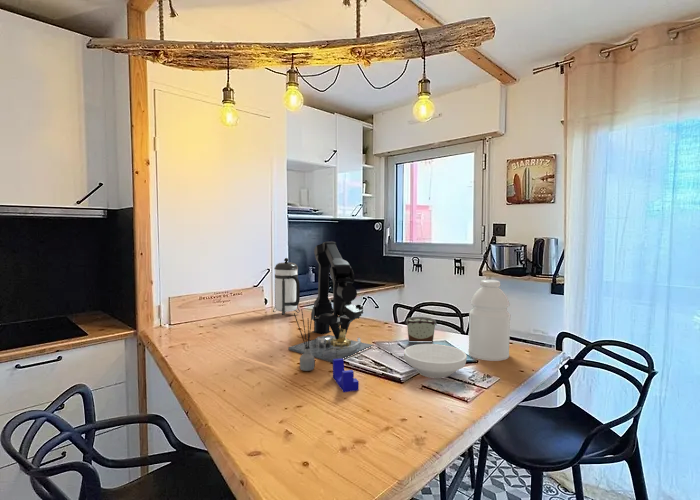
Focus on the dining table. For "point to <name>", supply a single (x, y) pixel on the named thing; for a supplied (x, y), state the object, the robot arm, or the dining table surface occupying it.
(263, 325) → the dining table surface
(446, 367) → the bowl
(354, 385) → the blue u-shaped block
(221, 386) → the dining table surface
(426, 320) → the food container
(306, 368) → the reed diffuser
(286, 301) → the coffee press
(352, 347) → the carrier plate
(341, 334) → the gear
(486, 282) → the bottle
